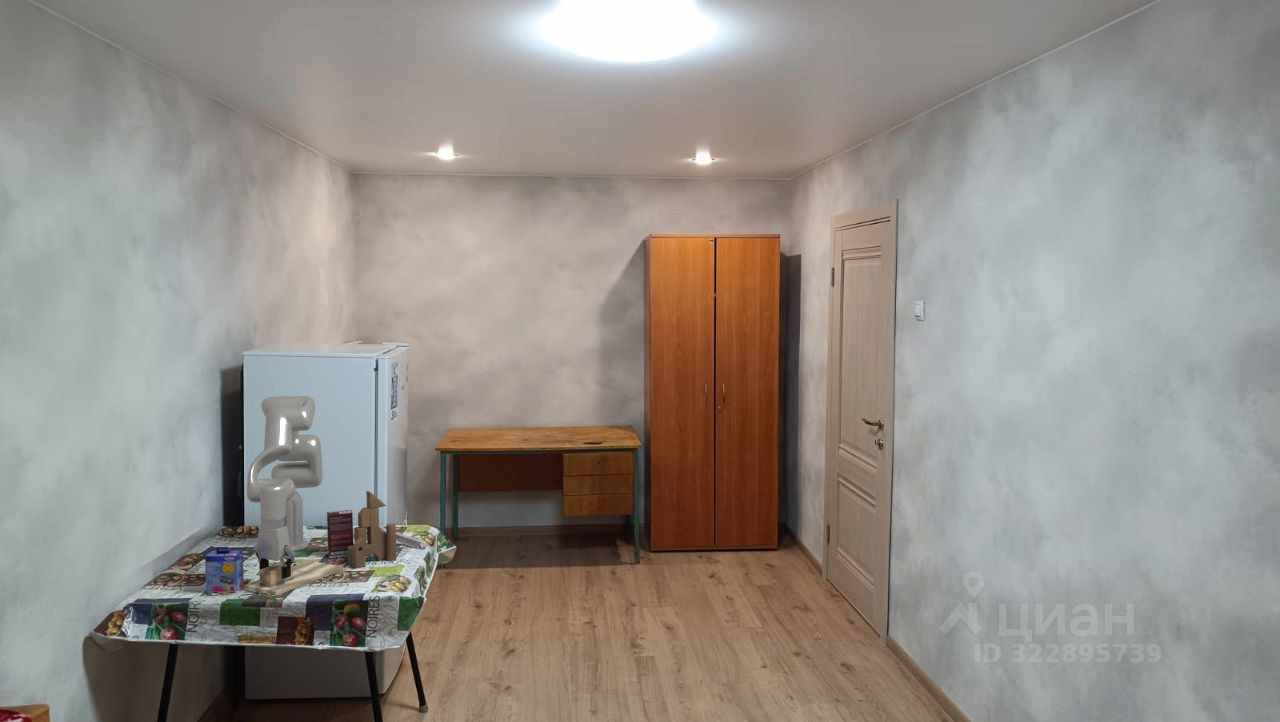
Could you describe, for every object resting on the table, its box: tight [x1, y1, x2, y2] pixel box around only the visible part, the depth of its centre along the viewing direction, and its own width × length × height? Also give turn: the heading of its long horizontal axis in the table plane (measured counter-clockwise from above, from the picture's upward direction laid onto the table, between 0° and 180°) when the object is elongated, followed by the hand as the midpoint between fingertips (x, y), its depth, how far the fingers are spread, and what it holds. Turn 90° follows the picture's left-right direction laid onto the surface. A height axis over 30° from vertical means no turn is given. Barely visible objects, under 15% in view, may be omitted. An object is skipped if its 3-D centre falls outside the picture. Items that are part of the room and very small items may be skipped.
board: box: [243, 560, 344, 597], centre depth 284 cm, size 14×28×2 cm, turn 154°
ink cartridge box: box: [204, 546, 245, 594], centre depth 273 cm, size 10×6×14 cm, turn 95°
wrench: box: [366, 523, 427, 550], centre depth 326 cm, size 8×2×30 cm
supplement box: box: [326, 509, 354, 559], centre depth 310 cm, size 9×5×16 cm, turn 113°
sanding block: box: [258, 562, 295, 588], centre depth 277 cm, size 5×9×5 cm, turn 154°
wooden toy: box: [347, 490, 397, 569], centre depth 302 cm, size 16×7×25 cm, turn 132°
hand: (275, 575), depth 277 cm, fingers open, 9 cm apart
